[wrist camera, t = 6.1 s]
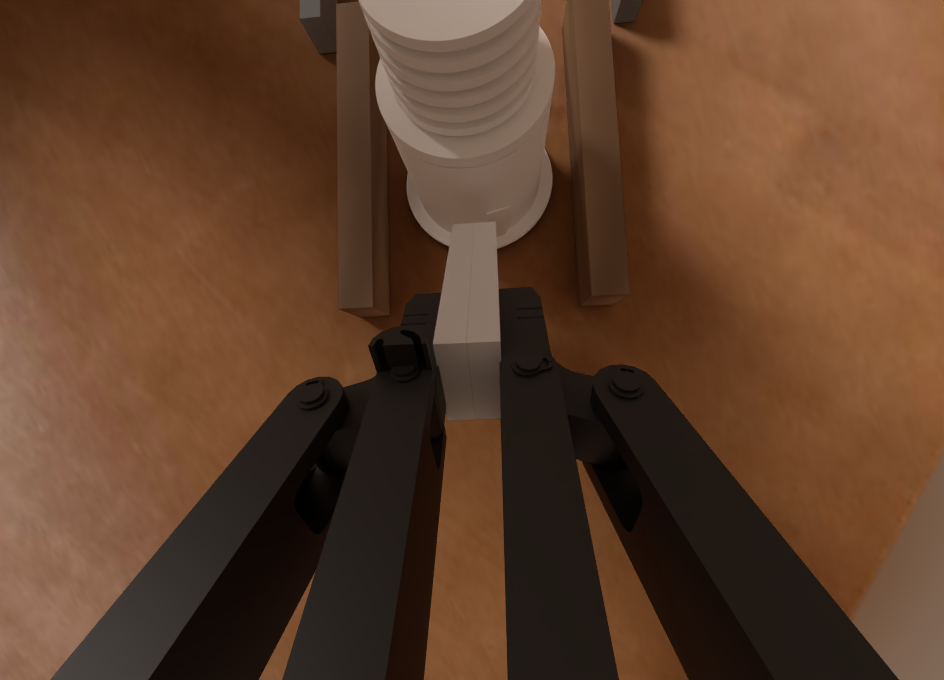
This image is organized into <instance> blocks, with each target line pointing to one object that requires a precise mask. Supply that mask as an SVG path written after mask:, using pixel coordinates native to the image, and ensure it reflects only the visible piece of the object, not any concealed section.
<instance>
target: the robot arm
mask: <svg viewBox="0 0 944 680" xmlns="http://www.w3.org/2000/svg"><path fill="white" fill-rule="evenodd" d="M368 347H369V350H370V353H371V356H372V359H373V362H374V365H375V368H376V371H377V374H376V376H375V377H373V378H372V379H369V380H367V381H364V382H361V383H357V384H354V385H350V386H347V387H342V385H341V384H340V383H339V381H338V380H336V379H334V378H331V377H316V378H313V379H309V380H306V381H305V382H303V383H301V384H299V385H297V386H296V387H295V388H294V389H293V390H292V391H291V392H289V393H288V395H287V396H286V397H285V398H284V399H283V401H282V402H281V403H280V404H279V405H278V407H277V408H276V409H275V410H274V411H273V413H272V414H271V415H270V416H269V417H268V419H267V420H266V421H265V422H264V423H263V425H262V426H261V427H260V428H259V429H258V431H257V432H256V433H255V434H254V435H253V437H252V438H251V439H250V440H249V441H248V443H247V444H246V445H245V446H244V447H243V449H242V450H241V451H240V452H239V453H238V455H237V456H236V457H235V458H234V459H233V461H232V462H231V463H230V464H229V465H228V467H227V468H226V469H225V470H224V471H223V473H222V474H221V475H220V476H219V477H218V479H217V480H216V481H215V482H214V484H213V485H212V486H211V487H210V488H209V490H208V491H207V492H206V493H205V494H204V496H203V497H202V498H201V499H200V500H199V502H198V503H197V504H196V505H195V506H194V508H193V509H192V510H191V511H190V512H189V514H188V515H187V516H186V517H185V518H184V520H183V521H182V522H181V523H180V524H179V526H178V527H177V528H176V529H175V530H174V532H173V533H172V534H171V535H170V536H169V538H168V539H167V540H166V541H165V542H164V544H163V545H162V546H161V547H160V548H159V550H158V551H157V552H156V553H155V554H154V556H153V557H152V558H151V559H150V560H149V562H148V563H147V564H146V565H145V566H144V568H143V569H142V570H141V571H140V572H139V574H138V575H137V576H136V577H135V578H134V580H133V581H132V582H131V583H130V584H129V586H128V587H127V588H126V589H125V591H124V592H123V593H122V594H121V595H120V597H119V598H118V599H117V600H116V601H115V603H114V604H113V605H112V606H111V607H110V609H109V610H108V611H107V612H106V613H105V615H104V616H103V617H102V618H101V619H100V621H99V622H98V623H97V624H96V625H95V627H94V628H93V629H92V630H91V631H90V633H89V634H88V635H87V636H86V637H85V639H84V640H83V641H82V642H81V643H80V645H79V646H78V647H77V648H76V649H75V651H74V652H73V653H72V654H71V655H70V657H69V658H68V659H67V660H66V661H65V663H64V664H63V665H62V666H61V667H60V669H59V670H58V671H57V672H56V673H55V675H54V676H53V677H52V678H51V679H50V680H259V678H260V676H261V674H262V672H263V670H264V668H265V667H266V665H267V663H268V661H269V659H270V657H271V655H272V653H273V651H274V649H275V647H276V645H277V644H278V642H279V640H280V638H281V636H282V634H283V632H284V630H285V628H286V626H287V624H288V623H289V621H290V619H291V617H292V615H293V613H294V611H295V609H296V607H297V605H298V603H299V601H300V600H301V598H302V596H303V594H304V592H305V590H306V588H307V586H308V584H309V582H310V580H311V579H312V577H313V575H314V573H315V575H314V579H313V582H312V585H311V588H310V592H309V595H308V598H307V601H306V605H305V608H304V611H303V614H302V618H301V621H300V624H299V627H298V630H297V634H296V637H295V640H294V643H293V647H292V650H291V653H290V656H289V660H288V663H287V666H286V669H285V673H284V676H283V679H282V680H424V671H425V660H426V650H427V639H428V629H429V618H430V607H431V597H432V586H433V576H434V565H435V554H436V544H437V533H438V522H439V512H440V501H441V491H442V480H443V469H444V459H445V448H446V432H445V426H444V421H445V412H446V415H447V420H475V419H476V420H484V419H501V446H502V483H503V520H504V557H505V595H506V632H507V669H508V680H619V678H618V673H617V668H616V663H615V658H614V653H613V647H612V642H611V637H610V632H609V627H608V622H607V617H606V612H605V606H604V601H603V596H602V591H601V586H600V581H599V576H598V570H597V565H596V560H595V555H594V550H593V545H592V540H591V535H590V529H589V524H588V519H587V514H586V509H585V504H584V499H583V494H582V488H581V483H580V478H579V473H578V468H577V463H576V459H578V460H581V461H582V462H583V465H584V467H585V469H586V471H587V473H588V475H589V477H590V479H591V481H592V483H593V485H594V487H595V489H596V491H597V493H598V495H599V498H600V500H601V502H602V504H603V506H604V508H605V510H606V512H607V514H608V516H609V518H610V520H611V522H612V524H613V526H614V528H615V530H616V532H617V534H618V536H619V538H620V540H621V542H622V544H623V546H624V548H625V551H626V553H627V555H628V557H629V559H630V561H631V563H632V565H633V567H634V569H635V571H636V573H637V575H638V577H639V579H640V581H641V583H642V585H643V587H644V589H645V591H646V593H647V595H648V597H649V599H650V601H651V604H652V606H653V608H654V610H655V612H656V614H657V616H658V618H659V620H660V622H661V624H662V626H663V628H664V630H665V632H666V634H667V636H668V638H669V640H670V642H671V644H672V646H673V648H674V650H675V652H676V654H677V657H678V659H679V661H680V663H681V665H682V667H683V669H684V671H685V673H686V675H687V677H688V679H689V680H899V679H898V678H897V677H896V676H895V674H894V673H893V672H892V671H891V670H890V668H889V667H888V666H887V665H886V663H885V662H884V661H883V660H882V658H881V657H880V656H879V655H878V654H877V652H876V651H875V650H874V649H873V647H872V646H871V645H870V644H869V643H868V641H867V640H866V639H865V638H864V636H863V635H862V634H861V633H860V631H859V630H858V629H857V628H856V627H855V625H854V624H853V623H852V622H851V620H850V619H849V618H848V617H847V616H846V614H845V613H844V612H843V611H842V609H841V608H840V607H839V606H838V604H837V603H836V602H835V601H834V600H833V598H832V597H831V596H830V595H829V593H828V592H827V591H826V590H825V588H824V587H823V586H822V585H821V584H820V582H819V581H818V580H817V579H816V577H815V576H814V575H813V574H812V573H811V571H810V570H809V569H808V568H807V566H806V565H805V564H804V563H803V561H802V560H801V559H800V558H799V557H798V555H797V554H796V553H795V552H794V550H793V549H792V548H791V547H790V546H789V544H788V543H787V542H786V541H785V539H784V538H783V537H782V536H781V534H780V533H779V532H778V531H777V530H776V528H775V527H774V526H773V525H772V523H771V522H770V521H769V520H768V519H767V517H766V516H765V515H764V514H763V512H762V511H761V510H760V509H759V507H758V506H757V505H756V504H755V503H754V501H753V500H752V499H751V498H750V496H749V495H748V494H747V493H746V491H745V490H744V489H743V488H742V487H741V485H740V484H739V483H738V482H737V480H736V479H735V478H734V477H733V476H732V474H731V473H730V472H729V471H728V469H727V468H726V467H725V466H724V464H723V463H722V462H721V461H720V460H719V458H718V457H717V456H716V455H715V453H714V452H713V451H712V450H711V449H710V447H709V446H708V445H707V444H706V442H705V441H704V440H703V439H702V437H701V436H700V435H699V434H698V433H697V431H696V430H695V429H694V428H693V426H692V425H691V424H690V423H689V421H688V420H687V419H686V418H685V417H684V415H683V414H682V413H681V412H680V410H679V409H678V408H677V407H676V406H675V404H674V403H673V402H672V401H671V399H670V398H669V397H668V396H667V394H666V393H665V392H664V391H663V390H662V388H661V387H660V386H659V385H658V383H657V382H656V381H655V380H654V379H653V378H652V377H651V376H650V375H648V374H647V373H646V372H644V371H642V370H640V369H638V368H636V367H632V366H627V365H610V366H607V367H605V368H602V369H600V370H599V372H598V373H597V374H596V375H595V376H590V375H585V374H580V373H576V372H573V371H570V370H568V369H566V368H564V367H562V366H561V365H560V364H558V363H557V362H556V361H555V359H554V358H553V357H552V354H551V351H550V346H549V341H548V336H547V330H546V325H545V320H544V314H543V309H542V304H541V298H540V296H539V295H538V294H537V293H536V292H535V290H534V289H533V288H532V287H525V288H506V289H499V284H498V261H497V238H496V222H481V223H465V224H453V228H452V234H451V240H450V246H449V251H448V257H447V263H446V269H445V275H444V281H443V287H442V293H432V294H416V295H415V296H414V297H413V298H412V299H411V300H410V301H409V302H408V303H407V305H406V308H405V312H404V317H403V319H402V322H401V326H400V327H395V328H391V329H388V330H386V331H383V332H381V333H380V334H378V335H377V336H376V337H374V338H373V339H372V341H371V342H370V344H369V345H368ZM315 571H316V572H315Z"/></svg>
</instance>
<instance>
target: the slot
mask: <svg viewBox="0 0 944 680" xmlns="http://www.w3.org/2000/svg"><path fill="white" fill-rule="evenodd" d="M562 33H563V49H564V65H565V81H566V97H567V114H568V130H569V146H570V162H571V178H572V194H573V211H574V227H575V243H576V259H577V275H578V292H579V307H581V306H601V305H613V304H615V303H616V302H618V301H620V300H621V299H623V298H625V297H626V296H628V295H629V294H630V283H629V269H628V256H627V242H626V229H625V215H624V202H623V188H622V174H621V161H620V147H619V134H618V120H617V107H616V93H615V79H614V66H613V52H612V39H611V25H610V12H609V0H567V4H566V10H565V16H564V22H563V27H562ZM336 56H337V211H338V309H340V310H342V311H345V312H347V313H350V314H353V315H355V316H358V317H377V316H390V276H389V221H388V167H387V125H386V122H385V120H384V118H383V116H382V114H381V112H380V109H379V106H378V103H377V98H376V91H375V79H376V71H377V67H378V63H379V60H380V56H379V53H378V50H377V48H376V46H375V43H374V40H373V37H372V34H371V32H370V30H369V27H368V24H367V22H366V19H365V16H364V13H363V10H362V8H361V6H360V3H359V1H357V2H348V3H340V4H336Z"/></svg>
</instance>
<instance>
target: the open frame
mask: <svg viewBox="0 0 944 680" xmlns="http://www.w3.org/2000/svg"><path fill="white" fill-rule="evenodd" d="M641 3H642V0H612V8H613V21H614V23H623V22H633V21H635V19H636V16H637V13H638V11H639V8H640V5H641ZM336 4H338V0H300V20H301V22H302V24H303V26H304V27H305V29H306V31H307V33H308V34H309V36H310V38H311V40H312V41H313V43H314V45H315V46H316V48H317V50H318V52H319V53H320V54H323V53H333V52H336Z"/></svg>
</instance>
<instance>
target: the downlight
mask: <svg viewBox="0 0 944 680" xmlns="http://www.w3.org/2000/svg"><path fill="white" fill-rule="evenodd" d="M358 1H359V3H360V6H361V8H362V10H363V13H364V16H365V19H366V22H367V24H368V27H369V30H370V32H371V34H372V37H373V40H374V43H375V46H376V48H377V50H378V53H379V56H380V60H379V63H378V67H377V71H376V79H375V91H376V98H377V103H378V106H379V109H380V112H381V114H382V116H383V118H384V120H385V122H386V125H387V127H388V129H389V131H390V133H391V136H392V138H393V140H394V142H395V144H396V147H397V149H398V151H399V153H400V156H401V158H402V160H403V162H404V164H405V167H406V169H407V171H408V175H407V197H408V202H409V205H410V208H411V210H412V212H413V215H414V217H415V218H416V220H417V222H418V223H419V224H420V226H421V227H422V228H423V229H424V230H425V231H426V232H427V233H428V234H429V235H430V236H431V237H432V238H434V239H435V240H437V241H438V242H440V243H442V244H444V245H446V246H448V247H449V246H450V240H451V234H452V228H453V224H465V223H481V222H496V238H497V249H498V248H501V247H504V246H506V245H509V244H511V243H513V242H515V241H516V240H518V239H519V238H521V237H522V236H524V235H525V234H526V233H527V232H528V231H530V230H531V229H532V228H533V226H534V225H535V224H536V223H537V222H538V220H539V219H540V218H541V216H542V214H543V213H544V211H545V209H546V207H547V204H548V202H549V198H550V195H551V189H552V178H553V177H552V168H551V163H550V159H549V157H548V154H547V152H546V150H545V141H546V134H547V127H548V120H549V113H550V106H551V100H552V93H553V86H554V80H555V60H554V55H553V51H552V48H551V45H550V43H549V40H548V38H547V37H546V35H545V33H544V31H543V30H542V29H541V27H540V26H539V24H540V13H541V0H358Z"/></svg>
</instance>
